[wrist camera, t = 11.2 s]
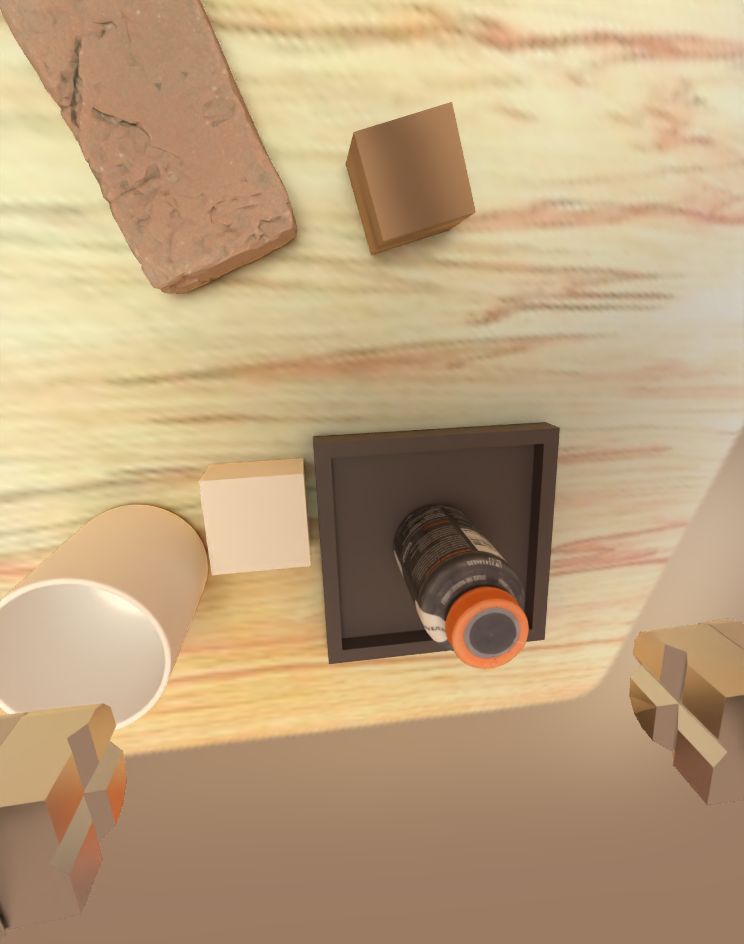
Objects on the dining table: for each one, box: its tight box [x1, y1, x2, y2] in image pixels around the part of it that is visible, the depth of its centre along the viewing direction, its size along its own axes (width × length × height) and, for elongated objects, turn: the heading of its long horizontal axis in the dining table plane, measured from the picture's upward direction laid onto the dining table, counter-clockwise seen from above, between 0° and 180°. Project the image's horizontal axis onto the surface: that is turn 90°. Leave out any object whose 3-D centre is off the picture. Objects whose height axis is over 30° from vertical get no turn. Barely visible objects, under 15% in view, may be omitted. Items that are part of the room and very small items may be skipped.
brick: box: [0, 0, 297, 294], centre depth 25 cm, size 17×8×5 cm, turn 24°
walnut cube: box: [346, 102, 475, 255], centre depth 27 cm, size 5×5×5 cm
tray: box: [313, 422, 560, 664], centre depth 35 cm, size 16×16×2 cm
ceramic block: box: [198, 458, 311, 575], centre depth 32 cm, size 6×6×4 cm
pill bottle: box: [394, 505, 529, 669], centre depth 30 cm, size 6×6×11 cm
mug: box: [0, 505, 208, 731], centre depth 29 cm, size 9×12×11 cm
